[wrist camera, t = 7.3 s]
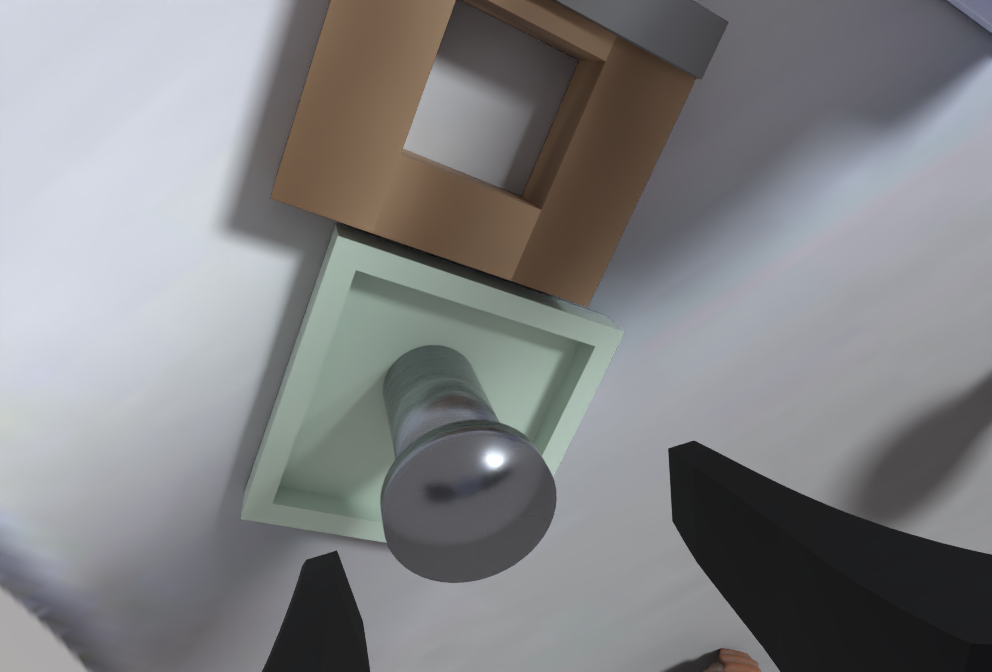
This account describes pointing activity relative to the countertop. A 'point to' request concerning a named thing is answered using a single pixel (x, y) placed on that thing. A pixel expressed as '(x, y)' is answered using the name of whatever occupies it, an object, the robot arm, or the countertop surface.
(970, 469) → the countertop surface
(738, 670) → the brown curved strap
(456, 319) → the tray
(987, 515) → the countertop surface
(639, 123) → the block
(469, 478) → the pin
